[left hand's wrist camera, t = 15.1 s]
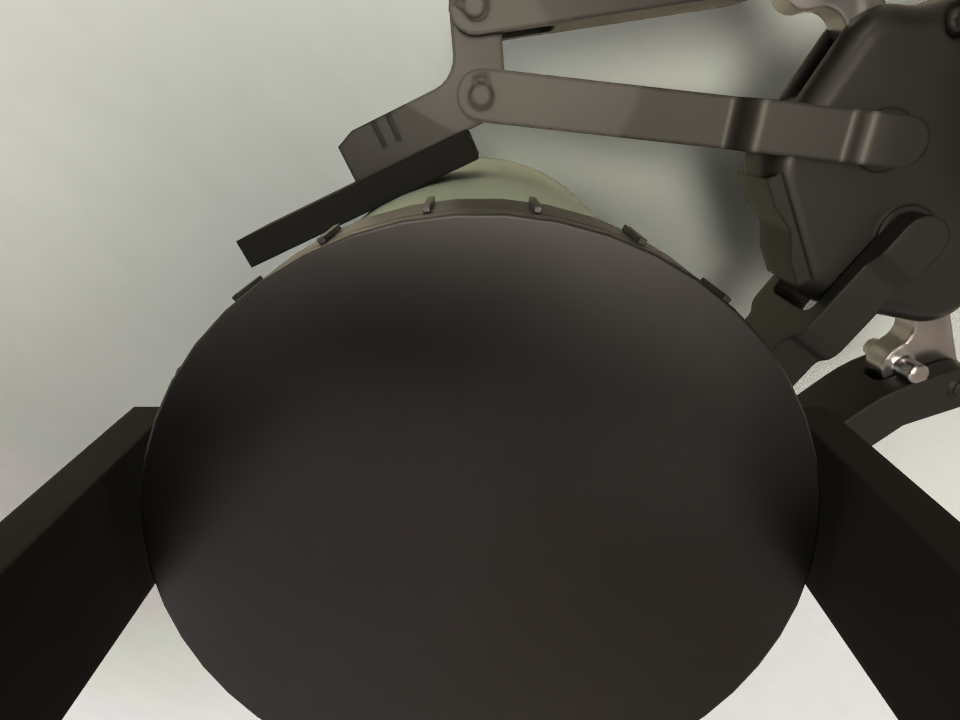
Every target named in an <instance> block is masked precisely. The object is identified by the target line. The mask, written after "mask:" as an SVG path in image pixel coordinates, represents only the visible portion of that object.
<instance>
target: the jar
mask: <svg viewBox="0 0 960 720" xmlns="http://www.w3.org/2000/svg"><path fill="white" fill-rule="evenodd" d="M430 196H435V202H437V201H444V200H452V199H509V200H516V201H524V202H529V197H530V196H531V197H536V198H537V200H538V201H539V203H540V204H547V205H551V206H555V207H558V208H562V209H566V210H569V211H573V212H577V213H580V214H584V215H588V216H591V217H594V218H596V219H598V218H597V217H596V216H595V215H594V214H593V213H592V212H590V211H589V210H588V209H587V208H586V207H585V206H584V205H583V204H582V203H581V202H580V201H579V200H577V199H576V198H575V197H574V196H573V195H572V194H571V193H570V192H569V191H568V190H567V189H566V188H564V187H563V186H562V185H560V184H559V183H557V182H556V181H554V180H553V179H552V178H550V177H548V176H546V175H545V174H543V173H541V172H539V171H537V170H535V169H533V168H530V167H527V166H524V165H521V164H518V163H515V162H510V161H505V160H500V159H490V158H478V160H476V161H474V162H472V163H470V164H467V165H465V166H463V167H461V168H459V169H457V170H455V171H453V172H451V173H449V174H447V175H444V176H442V177H440V178H438V179H436V180H434V181H432V182H430V183H428V184H426V185H423V186H421V187H419V188H417V189H415V190H413V191H411V192H409V193H407V194H405V195H402V196H400V197H398V198H396V199H394V200H392V201H390V202H388V203H386V204H384V205H382V206H380V207H377V208H375V209H373V210H371V211H370V212H369V213H368V214H367V215H366V216H365V217H364V218H362V219H361V220H363V219H365V218H367V217H370V216H374V215H377V214H381V213H385V212H388V211H392V210H395V209H399V208H403V207H406V206H410V205H415V204H423V203H425V201H426V200H427V198H428V197H430ZM598 220H599V219H598Z"/></svg>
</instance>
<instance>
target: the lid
mask: <svg viewBox="0 0 960 720" xmlns="http://www.w3.org/2000/svg"><path fill="white" fill-rule="evenodd" d="M646 242H647V240H646V239H645V238H643V237H642V236H641V235H640V234H638V233H637V232H636V231H635V230H633V229H632V228H631V227H629V226H627V225H624V227H623V229H619V228H617V227H615V226H612V225H610V224H608V223H605V222H603V221H601V220H598V219H596V218H594V217H591V216H588V215H584V214H580V213H577V212H573V211H569V210H566V209H562V208H558V207H555V206H551V205H547V204H540V203H539V201H538V200H537V198H536V197H531V196H530V197H529V202H524V201H516V200H509V199H452V200H444V201H437V202H435V196H430V197H428V198H427V200H426V201H425V203H423V204H415V205H410V206H406V207H403V208H399V209H395V210H392V211H388V212H385V213H381V214H377V215H374V216H370V217H367V218H365V219H363V220H360V221H358V222H356V223H353V224H351V225H349V226H346V227H344V228H342V229H341V227H340V225H339V224H337V225H335V226H333V227H332V228H330V229H329V230H328V231H326V232H325V233H324V234H323V235H321V236H320V237H319V238H318V239H317V241H316V242H315V243H313V244H312V245H310V246H308V247H307V248H305V249H303V250H302V251H300V252H298V253H297V254H295V255H294V256H292V257H291V258H289V259H288V260H287V261H285V262H284V263H283V264H282V265H280V266H279V267H278V268H276V269H275V270H274V271H273V272H271V273H270V274H269V275H268V276H266V277H265V278H264V279H263V278H262V277H261V276H259V277H257V278H256V279H255V280H253V281H252V282H251V283H249V284H248V285H247V286H245V287H244V288H243V289H241V290H240V291H239V292H237V293H236V294H235V295H234V296H233V297H232V299H233V300H234V301H236V302H235V303H233V304H232V305H231V306H230V307H229V308H227V309H226V310H225V311H224V312H223V313H222V314H221V315H220V317H219V318H218V319H217V320H216V321H215V322H214V323H213V324H212V326H211V327H210V328H209V329H208V330H207V331H206V332H205V333H204V335H203V336H202V337H201V338H200V339H199V340H198V341H197V342H196V344H195V345H194V346H193V348H192V349H191V351H190V353H189V354H188V356H187V357H186V359H185V360H184V362H183V363H182V365H181V366H180V367H179V368H178V369H177V371H176V374H175V376H174V377H173V379H172V380H171V383H170V385H169V387H168V389H167V392H166V394H165V396H164V398H163V401H162V403H161V405H160V407H159V410H158V412H157V414H156V417H155V419H154V423H153V427H152V430H151V434H150V438H149V442H148V446H147V450H146V453H145V457H144V468H143V478H142V489H141V509H142V525H143V537H144V541H145V546H146V550H147V555H148V559H149V564H150V568H151V572H152V575H153V577H154V580H155V583H156V585H157V588H158V591H159V593H160V596H161V598H162V601H163V604H164V606H165V608H166V610H167V611H168V613H169V615H170V617H171V619H172V620H173V622H174V624H175V626H176V628H177V630H178V631H179V633H180V635H181V637H182V638H183V640H184V641H185V642H186V644H187V645H188V646H189V648H190V649H191V650H192V652H193V653H194V655H195V656H196V657H197V659H198V660H199V661H200V663H201V664H202V665H203V667H204V668H205V669H206V670H207V671H208V672H209V673H210V674H211V675H212V676H213V677H214V678H215V679H216V680H217V681H218V682H219V684H220V685H221V686H222V687H223V688H224V689H225V690H226V691H227V692H228V693H229V694H230V695H232V696H233V697H234V698H235V699H236V700H238V701H239V702H240V703H241V704H242V705H244V706H245V707H246V708H247V709H248V710H250V711H251V712H252V713H253V714H254V715H256V716H257V717H258V718H260V719H261V720H699V719H701V718H702V717H704V716H705V715H707V714H708V713H709V712H710V711H711V710H713V709H714V708H715V707H716V706H717V705H719V704H720V703H721V702H722V701H723V700H725V699H726V698H727V697H728V696H729V695H731V694H732V693H733V692H734V691H735V690H736V689H737V688H738V687H739V686H740V685H741V684H742V682H743V681H744V680H745V679H746V678H747V677H748V676H749V675H750V674H751V673H752V672H753V671H754V670H755V669H756V668H757V667H758V666H759V664H760V663H761V661H762V660H763V659H764V657H765V656H766V655H767V653H768V652H769V651H770V649H771V648H772V646H773V645H774V644H775V642H776V641H777V640H778V638H779V637H780V635H781V633H782V632H783V630H784V628H785V626H786V624H787V622H788V621H789V619H790V617H791V615H792V613H793V611H794V610H795V608H796V606H797V604H798V601H799V599H800V596H801V593H802V591H803V588H804V585H805V583H806V580H807V577H808V575H809V572H810V569H811V565H812V560H813V555H814V551H815V546H816V541H817V537H818V528H819V512H820V487H819V476H818V466H817V456H816V452H815V449H814V445H813V441H812V437H811V434H810V430H809V426H808V422H807V418H806V416H805V414H804V411H803V409H802V407H801V405H800V402H799V400H798V398H797V396H796V393H795V391H794V389H793V387H792V384H791V382H790V380H789V378H788V377H787V375H786V373H785V371H784V370H783V369H782V368H781V366H780V364H779V363H778V361H777V360H776V358H775V357H774V355H773V354H772V352H771V351H770V349H769V348H768V346H767V344H766V343H765V342H764V341H763V340H762V339H761V337H760V336H759V335H758V334H757V333H756V332H755V331H754V330H753V329H752V327H751V326H750V325H749V324H748V323H747V322H746V321H745V320H744V319H743V317H742V316H741V315H740V314H739V313H738V312H737V311H736V310H735V309H734V308H733V307H732V306H731V305H729V304H728V303H729V302H730V301H731V299H730V298H729V297H728V296H727V295H726V294H725V293H723V292H722V291H721V290H719V289H718V288H717V287H715V286H714V285H713V284H711V283H710V282H709V281H707V280H706V279H705V278H702V279H701V280H699V279H698V278H696V277H695V276H694V275H692V274H691V273H690V272H689V271H687V270H686V269H685V268H683V267H682V266H681V265H680V264H678V263H677V262H676V261H674V260H673V259H672V258H671V257H669V256H668V255H666V254H664V253H663V252H661V251H659V250H658V249H656V248H655V247H653V246H651V245H650V244H648V243H646Z"/></svg>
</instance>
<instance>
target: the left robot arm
mask: <svg viewBox="0 0 960 720" xmlns="http://www.w3.org/2000/svg"><path fill="white" fill-rule="evenodd" d="M802 409H803V411H804V414H805V416H806V418H807V422H808V426H809V430H810V434H811V437H812V441H813V445H814V449H815V452H816V456H817V466H818V476H819V487H820V512H819V528H818V537H817V541H816V546H815V551H814V555H813V560H812V565H811V569H810V572H809V575H808V577H807V580H806V583H805V584H806V586H807V587H808V589H809V590H810V592H811V593H812V595H813V596H814V598H815V599H816V600H817V602H818V603H819V605H820V606H821V608H822V609H823V611H824V612H825V614H826V615H827V617H828V618H829V619H830V621H831V622H832V624H833V625H834V627H835V628H836V630H837V631H838V633H839V634H840V635H841V637H842V638H843V640H844V641H845V643H846V644H847V646H848V647H849V649H850V650H851V652H852V653H853V654H854V656H855V657H856V659H857V660H858V662H859V663H860V665H861V666H862V668H863V669H864V670H865V672H866V673H867V675H868V676H869V678H870V679H871V681H872V682H873V684H874V685H875V687H876V688H877V689H878V691H879V692H880V694H881V695H882V697H883V698H884V700H885V701H886V703H887V704H888V706H889V707H890V708H891V710H892V711H893V713H894V714H895V716H896V717H897V719H898V720H960V522H959V521H958V520H957V519H956V518H955V517H953V516H952V515H951V514H950V513H949V512H948V511H946V510H945V509H944V508H943V507H942V506H941V505H939V504H938V503H937V502H936V501H935V500H934V499H932V498H931V497H930V496H929V495H928V494H927V493H925V492H924V491H923V490H922V489H921V488H920V487H918V486H917V485H916V484H915V483H914V482H913V481H911V480H910V479H909V478H908V477H907V476H906V475H905V474H903V473H902V472H901V471H900V470H899V469H898V468H896V467H895V466H894V465H893V464H892V463H891V462H889V461H888V460H887V459H886V458H885V457H884V456H882V455H881V454H880V453H879V452H878V451H877V450H875V449H874V448H873V447H872V446H871V445H870V444H868V443H867V442H866V441H865V440H864V439H863V438H861V437H860V436H859V435H858V434H857V433H856V432H854V431H853V430H852V429H851V428H850V427H849V426H848V425H846V424H845V423H844V422H843V421H842V420H841V419H839V418H838V417H837V416H836V415H835V414H834V413H832V412H831V411H830V410H829V409H828V408H827V407H802ZM158 410H159V407H133V408H132V409H131V410H130V411H129V412H128V413H126V414H125V415H124V416H123V417H122V418H121V419H119V420H118V421H117V422H116V423H115V424H114V425H112V426H111V427H110V428H109V429H108V430H107V431H106V432H104V433H103V434H102V435H101V436H100V437H99V438H97V439H96V440H95V441H94V442H93V443H92V444H90V445H89V446H88V447H87V448H86V449H85V450H83V451H82V452H81V453H80V454H79V455H78V456H76V457H75V458H74V459H73V460H72V461H71V462H69V463H68V464H67V465H66V466H65V467H64V468H62V469H61V470H60V471H59V472H58V473H57V474H55V475H54V476H53V477H52V478H51V479H50V480H49V481H47V482H46V483H45V484H44V485H43V486H42V487H40V488H39V489H38V490H37V491H36V492H35V493H33V494H32V495H31V496H30V497H29V498H28V499H26V500H25V501H24V502H23V503H22V504H21V505H19V506H18V507H17V508H16V509H15V510H14V511H12V512H11V513H10V514H9V515H8V516H7V517H5V518H4V519H3V520H2V521H1V522H0V720H62V719H63V717H64V716H65V714H66V713H67V711H68V710H69V708H70V707H71V706H72V704H73V703H74V701H75V700H76V698H77V697H78V695H79V694H80V692H81V691H82V689H83V688H84V687H85V685H86V684H87V682H88V681H89V679H90V678H91V676H92V675H93V673H94V672H95V671H96V669H97V668H98V666H99V665H100V663H101V662H102V660H103V659H104V657H105V656H106V654H107V653H108V652H109V650H110V649H111V647H112V646H113V644H114V643H115V641H116V640H117V638H118V637H119V635H120V634H121V633H122V631H123V630H124V628H125V627H126V625H127V624H128V622H129V621H130V619H131V618H132V617H133V615H134V614H135V612H136V611H137V609H138V608H139V606H140V605H141V603H142V602H143V600H144V599H145V598H146V596H147V595H148V593H149V592H150V590H151V589H152V587H153V586H154V584H155V580H154V577H153V575H152V572H151V568H150V564H149V559H148V555H147V550H146V546H145V541H144V537H143V525H142V509H141V489H142V478H143V468H144V457H145V453H146V450H147V446H148V442H149V438H150V434H151V430H152V427H153V423H154V419H155V417H156V414H157V412H158Z"/></svg>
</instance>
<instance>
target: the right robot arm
mask: <svg viewBox="0 0 960 720" xmlns="http://www.w3.org/2000/svg"><path fill="white" fill-rule="evenodd" d="M744 1H747V0H449V12H450V23H451V34H452V46H453V65H452V69H451V72H450V74H449V76H448V78H447V79H446V80H445V81H444V83H443V84H442V85H441V86H439V87H438V88H436V89H435V90H433V91H431V92H429V93H427V94H425V95H423V96H421V97H419V98H417V99H415V100H413V101H411V102H409V103H407V104H405V105H403V106H401V107H399V108H397V109H395V110H393V111H391V112H389V113H387V114H385V115H383V116H381V117H379V118H377V119H375V120H373V121H371V122H369V123H367V124H365V125H363V126H361V127H359V128H357V129H355V130H353V131H351V133H350V134H349V135H348V136H347V137H346V139H345V140H344V141H343V142H342V143H341V145H340V146H339V147H338V148H339V150H340V152H341V154H342V156H343V157H344V159H345V161H346V163H347V165H348V167H349V169H350V171H351V173H352V175H353V177H354V179H355V181H356V182H354V183H352V184H350V185H348V186H346V187H343V188H341V189H339V190H337V191H335V192H333V193H331V194H329V195H327V196H325V197H323V198H321V199H319V200H317V201H315V202H313V203H311V204H309V205H306V206H304V207H302V208H300V209H298V210H296V211H294V212H292V213H290V214H288V215H286V216H284V217H282V218H280V219H278V220H276V221H274V222H272V223H270V224H268V225H266V226H264V227H262V228H260V229H258V230H256V231H255V232H253V233H251V234H249V235H247V236H245V237H243V238H242V239H240V240H238V241H236V242H237V244H238V245H239V247H240V249H241V250H242V252H243V254H244V255H245V257H246V259H247V261H248V262H249V264H250V266H251V267H254V266H256V265H258V264H260V263H262V262H264V261H266V260H269V259H271V258H273V257H275V256H277V255H279V254H281V253H283V252H285V251H287V250H289V249H292V248H294V247H296V246H298V245H300V244H302V243H304V242H306V241H308V240H310V239H313V238H315V237H317V236H319V235H321V234H323V233H325V232H326V231H328V230H329V229H330V228H332V227H333V226H335V225H337V224H339V225H342V224H344V223H346V222H348V221H350V220H352V219H354V218H356V217H359V216H361V215H363V214H365V213H367V212H369V211H371V210H373V209H375V208H377V207H380V206H382V205H384V204H386V203H388V202H390V201H392V200H394V199H396V198H398V197H400V196H402V195H405V194H407V193H409V192H411V191H413V190H415V189H417V188H419V187H421V186H423V185H426V184H428V183H430V182H432V181H434V180H436V179H438V178H440V177H442V176H444V175H447V174H449V173H451V172H453V171H455V170H457V169H459V168H461V167H463V166H465V165H467V164H470V163H472V162H474V161H476V160H478V155H479V152H478V150H477V148H476V146H475V143H474V141H473V139H472V136H471V134H470V132H469V129H471V128H474V127H476V126H478V125H480V124H482V123H484V122H486V123H495V124H504V125H513V126H522V127H531V128H540V129H549V130H558V131H567V132H576V133H586V134H595V135H604V136H613V137H622V138H631V139H640V140H649V141H658V142H667V143H676V144H685V145H694V146H703V147H712V148H721V149H730V150H738V151H746V156H745V162H744V170H741V171H739V172H737V173H738V176H739V179H740V182H741V186H742V189H743V192H744V195H745V198H746V199H747V201H748V202H749V204H750V205H751V207H752V208H753V210H754V211H755V213H756V214H757V216H758V217H759V219H760V247H761V251H762V254H763V257H764V260H765V264H766V267H767V270H768V271H770V272H772V273H774V275H773V276H772V278H771V279H770V280H769V281H768V282H767V283H766V284H765V286H764V287H763V288H762V289H761V290H760V291H759V293H758V294H757V295H756V296H755V298H754V300H753V302H752V307H751V312H750V314H749V315H748V317H747V318H746V319H745V321H746V322H747V323H748V324H749V325H750V326H751V327H752V329H753V330H754V331H755V332H756V333H757V334H758V335H759V336H760V337H761V339H762V340H763V341H764V342H765V343H766V344H767V346H768V348H769V349H770V351H771V352H772V354H773V355H774V357H775V358H776V360H777V361H778V363H779V364H780V366H781V368H782V369H783V370H784V371H785V373H786V375H787V377H788V378H789V380H790V382H791V384H792V387H793V386H794V385H795V384H796V382H797V381H798V380H799V379H800V378H801V377H802V376H803V375H804V374H805V373H806V372H807V371H808V370H809V369H810V368H811V367H812V366H813V365H814V364H815V363H817V362H818V361H823V360H829V359H831V358H833V357H835V356H836V355H837V354H838V353H840V352H841V351H842V350H843V349H844V348H845V347H846V346H847V345H848V343H849V342H850V341H851V340H852V339H853V338H854V337H855V336H856V335H857V334H858V333H859V332H860V331H861V330H862V329H863V328H864V327H865V326H866V325H867V323H868V322H869V321H870V320H871V319H872V318H873V317H874V316H875V315H876V314H881V315H886V316H891V317H895V322H894V325H893V327H892V328H891V330H890V331H889V332H888V333H887V334H886V335H885V336H883V337H882V338H880V339H878V338H872V339H869V340H868V341H867V342H866V343H865V344H864V346H863V351H864V353H865V354H866V355H864V356H861V357H858V358H856V359H853V360H851V361H849V362H847V363H845V364H843V365H841V366H840V367H838V368H836V369H835V370H833V371H831V372H830V373H828V374H827V375H825V376H824V377H822V378H821V379H819V380H818V381H817V382H815V383H814V384H812V385H811V386H810V387H808V388H807V389H805V390H804V391H802V392H801V393H800V394H798V395H797V398H798V400H799V402H800V405H801V407H827V408H828V409H829V410H830V411H831V412H832V413H834V414H835V415H836V416H837V417H838V418H839V419H841V420H842V421H843V422H844V423H845V424H846V425H848V426H849V427H850V428H851V429H852V430H853V431H854V432H856V433H857V434H858V435H859V436H860V437H861V438H863V439H864V440H865V441H866V442H867V443H868V444H870V445H871V446H872V445H874V444H875V443H877V442H878V441H880V440H881V439H883V438H884V437H886V436H887V435H889V434H890V433H892V432H893V431H895V430H897V429H898V428H900V427H901V426H903V425H905V424H908V423H911V422H914V421H917V420H921V419H924V418H927V417H930V416H933V415H936V414H939V413H942V412H945V411H948V410H951V409H954V408H958V407H960V362H958V361H957V359H956V353H955V346H954V339H953V333H952V326H951V319H950V314H951V313H952V312H954V311H955V310H957V309H958V308H959V307H960V0H927V1H925V2H922V3H920V4H918V5H900V4H886V3H885V0H770V1H771V3H772V5H773V7H774V8H775V9H776V10H777V11H778V12H779V13H781V14H783V15H795V14H800V13H804V12H809V13H814V14H816V15H818V16H819V17H820V18H821V19H822V20H823V21H824V23H825V25H826V27H827V29H826V30H825V31H824V33H823V34H822V35H821V36H820V38H819V39H818V41H817V42H816V44H815V45H814V47H813V48H812V50H811V51H810V53H809V54H808V56H807V57H806V59H805V60H804V61H803V63H802V64H801V66H800V67H799V69H798V70H797V72H796V73H795V75H794V76H793V78H792V79H791V81H790V82H789V84H788V85H787V87H786V88H785V90H784V91H783V93H782V94H781V96H780V97H779V99H778V100H772V99H762V98H748V97H734V96H725V95H717V94H708V93H699V92H690V91H681V90H673V89H664V88H655V87H646V86H637V85H629V84H620V83H611V82H602V81H593V80H585V79H576V78H567V77H558V76H549V75H540V74H532V73H523V72H514V71H505V70H504V62H503V46H502V41H503V40H509V39H516V38H522V37H529V36H536V35H542V34H549V33H555V32H562V31H569V30H575V29H582V28H589V27H595V26H602V25H608V24H615V23H622V22H628V21H635V20H641V19H648V18H655V17H661V16H668V15H674V14H681V13H688V12H694V11H701V10H708V9H714V8H720V7H725V6H729V5H734V4H738V3H741V2H744ZM810 299H811V300H814V301H817V303H816V304H815V305H814V306H813V307H812V308H811V309H808V310H806V311H805V310H803V308H804V307H805V305H806V304H807V303H808V302H809V300H810Z"/></svg>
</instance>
